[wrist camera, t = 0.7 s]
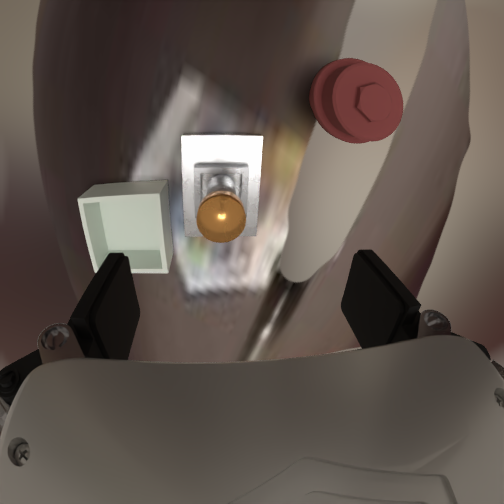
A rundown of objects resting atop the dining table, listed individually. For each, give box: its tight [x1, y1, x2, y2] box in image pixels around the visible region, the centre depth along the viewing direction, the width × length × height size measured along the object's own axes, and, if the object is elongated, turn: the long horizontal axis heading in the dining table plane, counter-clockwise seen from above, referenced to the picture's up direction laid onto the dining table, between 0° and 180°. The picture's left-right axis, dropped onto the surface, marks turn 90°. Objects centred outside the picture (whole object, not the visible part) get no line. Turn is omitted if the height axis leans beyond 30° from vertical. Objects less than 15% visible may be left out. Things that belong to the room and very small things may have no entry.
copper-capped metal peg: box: [196, 175, 246, 243], centre depth 30 cm, size 5×5×10 cm
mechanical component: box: [309, 58, 403, 143], centre depth 26 cm, size 12×10×10 cm
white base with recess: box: [182, 133, 263, 237], centre depth 35 cm, size 14×10×4 cm
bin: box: [78, 180, 173, 273], centre depth 35 cm, size 11×11×6 cm
